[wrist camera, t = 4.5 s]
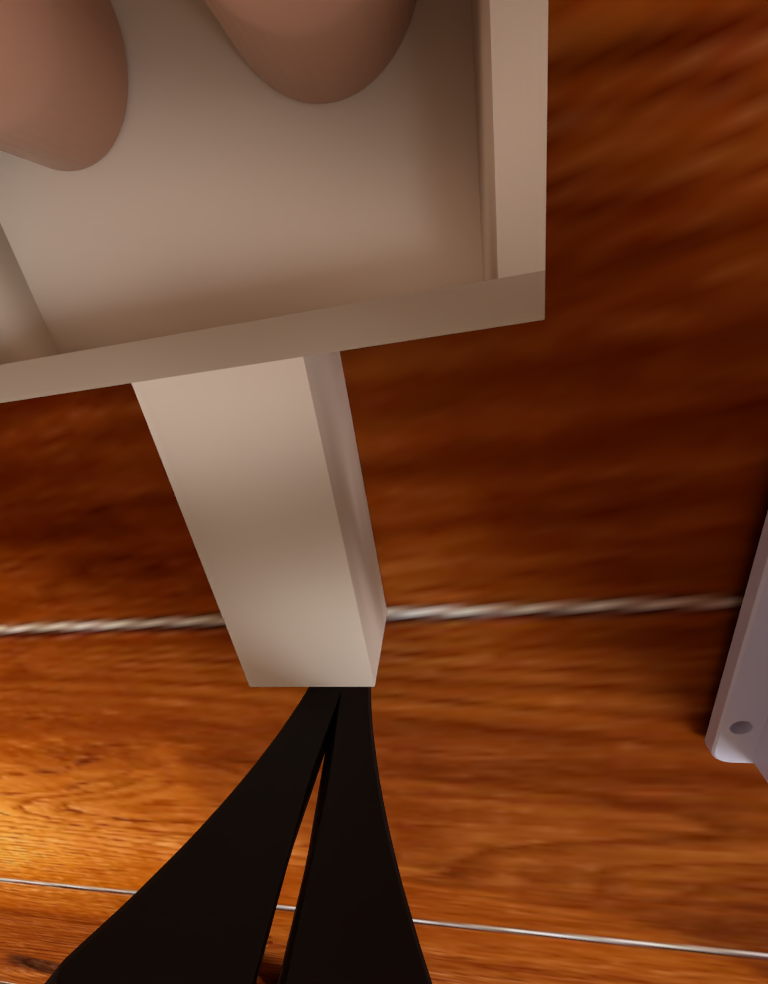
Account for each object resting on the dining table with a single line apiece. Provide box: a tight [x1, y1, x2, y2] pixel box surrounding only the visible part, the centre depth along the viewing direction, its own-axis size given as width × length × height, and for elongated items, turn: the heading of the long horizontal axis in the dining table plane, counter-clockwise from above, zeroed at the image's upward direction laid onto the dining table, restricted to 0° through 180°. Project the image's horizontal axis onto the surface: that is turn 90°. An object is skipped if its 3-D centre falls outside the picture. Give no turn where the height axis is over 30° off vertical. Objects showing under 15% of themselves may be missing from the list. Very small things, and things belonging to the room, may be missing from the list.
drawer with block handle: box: [0, 0, 548, 687], centre depth 7 cm, size 17×10×2 cm, turn 9°
